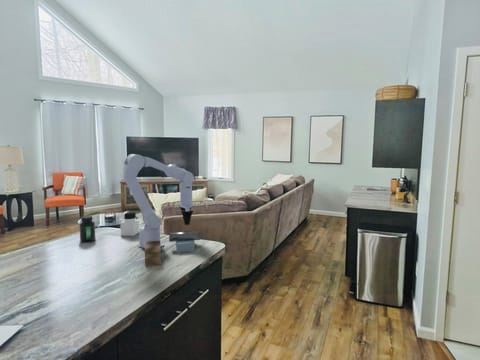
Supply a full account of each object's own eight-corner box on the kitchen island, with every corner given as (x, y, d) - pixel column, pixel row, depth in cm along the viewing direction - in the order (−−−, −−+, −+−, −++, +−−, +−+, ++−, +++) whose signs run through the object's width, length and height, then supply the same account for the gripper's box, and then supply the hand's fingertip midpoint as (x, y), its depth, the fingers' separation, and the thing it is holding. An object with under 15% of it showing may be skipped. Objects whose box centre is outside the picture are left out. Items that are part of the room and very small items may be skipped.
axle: (169, 243, 144) (169, 234, 143) (169, 240, 148) (169, 232, 147) (200, 241, 147) (200, 232, 147) (199, 238, 151) (199, 230, 150)
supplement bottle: (91, 242, 154) (90, 218, 152) (77, 242, 153) (76, 218, 152) (97, 238, 160) (96, 215, 159) (84, 238, 160) (83, 215, 159)
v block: (176, 252, 142) (176, 243, 142) (175, 245, 152) (175, 237, 151) (194, 251, 144) (194, 242, 143) (192, 244, 154) (192, 236, 153)
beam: (145, 265, 126) (144, 252, 126) (146, 253, 140) (146, 241, 139) (160, 264, 128) (160, 251, 127) (160, 252, 141) (160, 240, 141)
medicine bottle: (139, 232, 172) (138, 210, 171) (133, 236, 165) (133, 213, 164) (126, 231, 173) (126, 210, 171) (120, 235, 166) (119, 213, 164)
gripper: (196, 197, 149) (196, 226, 151) (193, 192, 163) (193, 218, 165) (180, 198, 147) (181, 226, 149) (179, 193, 161) (179, 219, 163)
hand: (186, 222), depth 157 cm, fingers open, 7 cm apart
